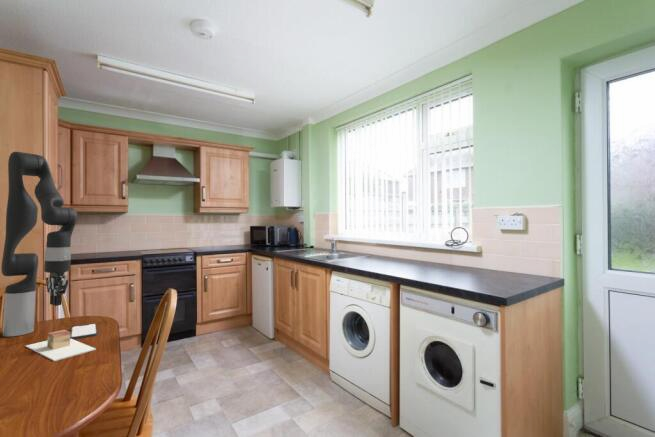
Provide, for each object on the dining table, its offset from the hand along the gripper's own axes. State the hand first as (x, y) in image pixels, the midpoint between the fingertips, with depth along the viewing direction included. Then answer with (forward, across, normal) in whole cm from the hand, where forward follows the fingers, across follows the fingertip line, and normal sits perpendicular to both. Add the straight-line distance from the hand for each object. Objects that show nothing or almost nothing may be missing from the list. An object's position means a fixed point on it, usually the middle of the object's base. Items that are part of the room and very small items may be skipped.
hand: (55, 304), depth 118 cm
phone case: (+16, -7, +13) cm, 22 cm away
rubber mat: (+15, +6, 0) cm, 16 cm away
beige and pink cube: (+15, +4, 0) cm, 15 cm away
